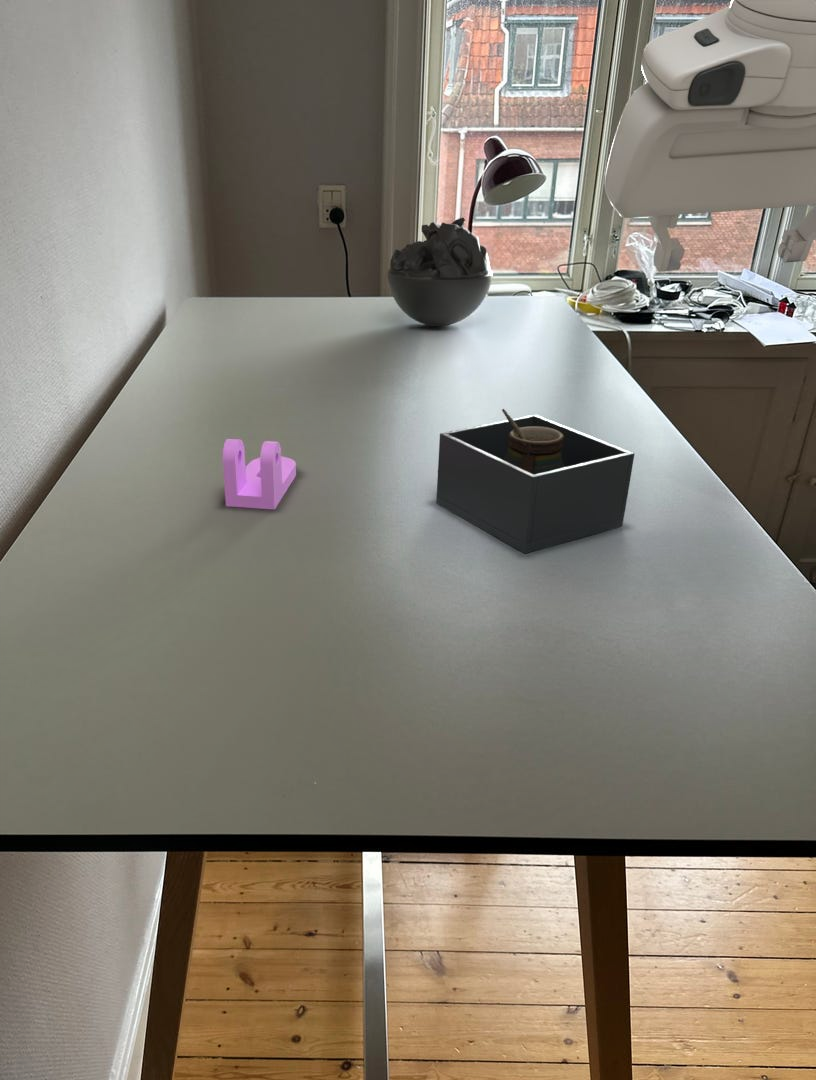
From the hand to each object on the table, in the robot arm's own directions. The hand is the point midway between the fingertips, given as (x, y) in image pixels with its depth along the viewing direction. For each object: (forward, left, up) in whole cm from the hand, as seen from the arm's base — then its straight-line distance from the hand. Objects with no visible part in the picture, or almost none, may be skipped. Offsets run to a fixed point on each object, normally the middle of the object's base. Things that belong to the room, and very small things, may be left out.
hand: (728, 263), depth 68 cm
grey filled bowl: (-48, -103, -28) cm, 117 cm away
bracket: (+19, -43, -28) cm, 55 cm away
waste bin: (-2, -21, -28) cm, 35 cm away
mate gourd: (-2, -21, -27) cm, 35 cm away
